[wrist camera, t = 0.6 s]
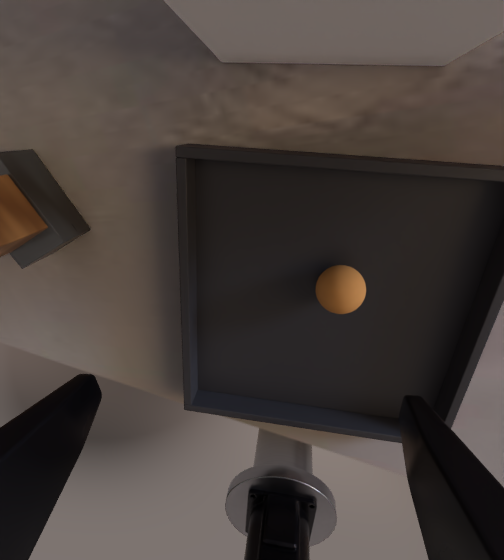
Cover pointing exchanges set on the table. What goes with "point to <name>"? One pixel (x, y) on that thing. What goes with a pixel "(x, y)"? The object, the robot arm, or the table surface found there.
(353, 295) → the tan round ball
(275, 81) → the table surface
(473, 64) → the table surface
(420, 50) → the milk
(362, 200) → the pan
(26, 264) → the wooden block on stand
